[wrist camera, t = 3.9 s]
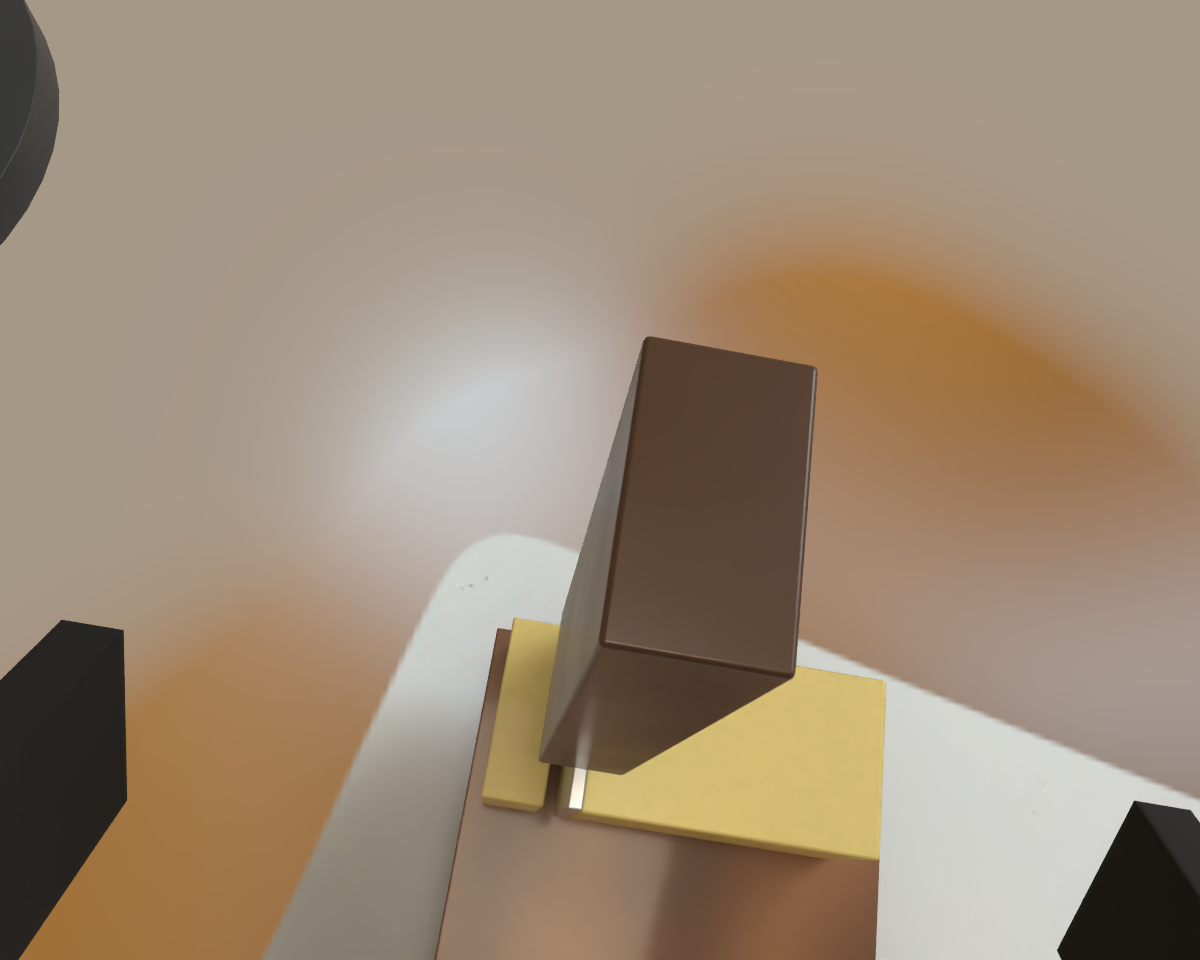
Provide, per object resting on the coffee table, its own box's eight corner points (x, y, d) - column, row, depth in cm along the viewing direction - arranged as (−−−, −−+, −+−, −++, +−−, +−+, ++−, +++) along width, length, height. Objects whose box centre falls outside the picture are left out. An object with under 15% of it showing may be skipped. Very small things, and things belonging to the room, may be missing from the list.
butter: (482, 804, 27) (480, 796, 24) (511, 646, 29) (513, 616, 25) (828, 859, 28) (880, 861, 24) (837, 701, 29) (887, 680, 26)
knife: (523, 811, 24) (583, 738, 8) (554, 624, 26) (655, 266, 10) (594, 823, 24) (790, 772, 8) (621, 635, 26) (824, 297, 10)
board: (414, 1074, 26) (410, 1087, 25) (497, 637, 31) (497, 627, 29) (848, 1139, 27) (868, 1154, 25) (868, 700, 31) (886, 693, 30)
